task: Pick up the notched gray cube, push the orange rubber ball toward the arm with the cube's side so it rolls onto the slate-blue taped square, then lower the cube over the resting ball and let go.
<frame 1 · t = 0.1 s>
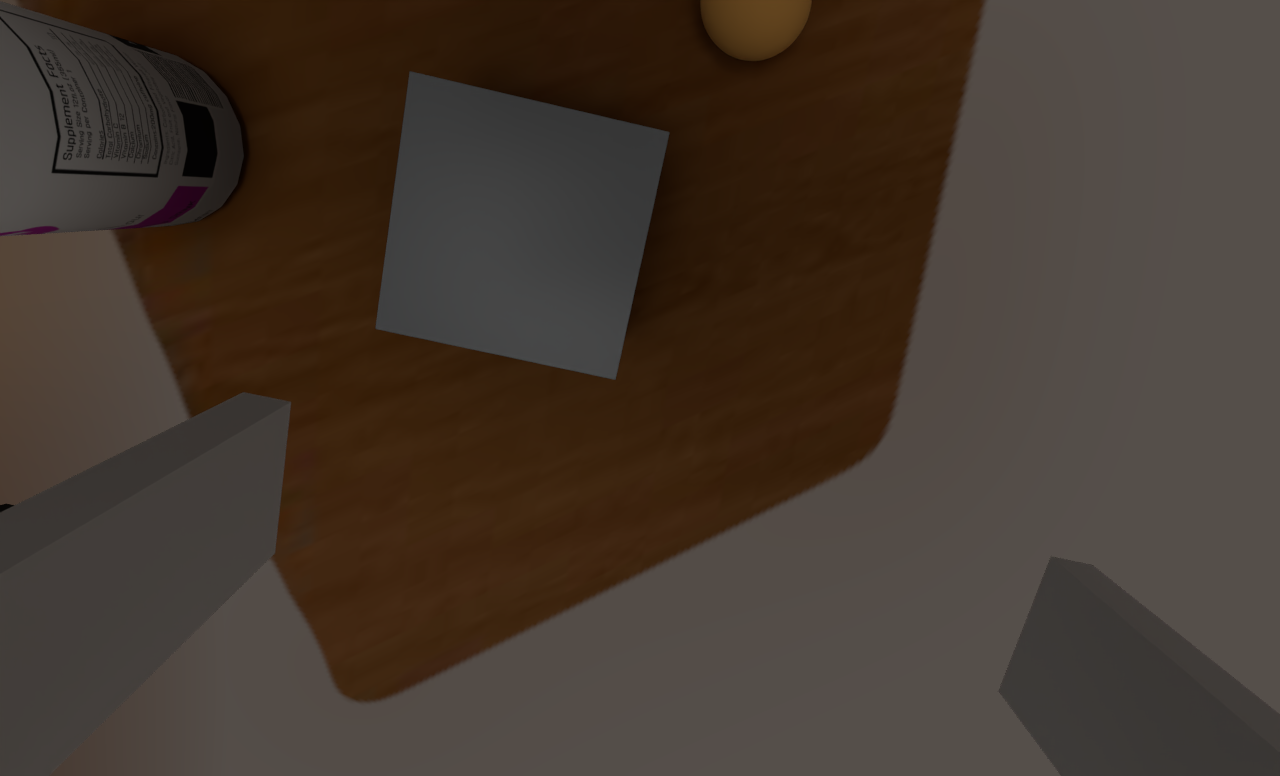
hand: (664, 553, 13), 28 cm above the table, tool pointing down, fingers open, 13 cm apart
supplement can: (170, 141, 37), on the table
ball: (755, 0, 33), on the table
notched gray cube: (543, 225, 38), on the table
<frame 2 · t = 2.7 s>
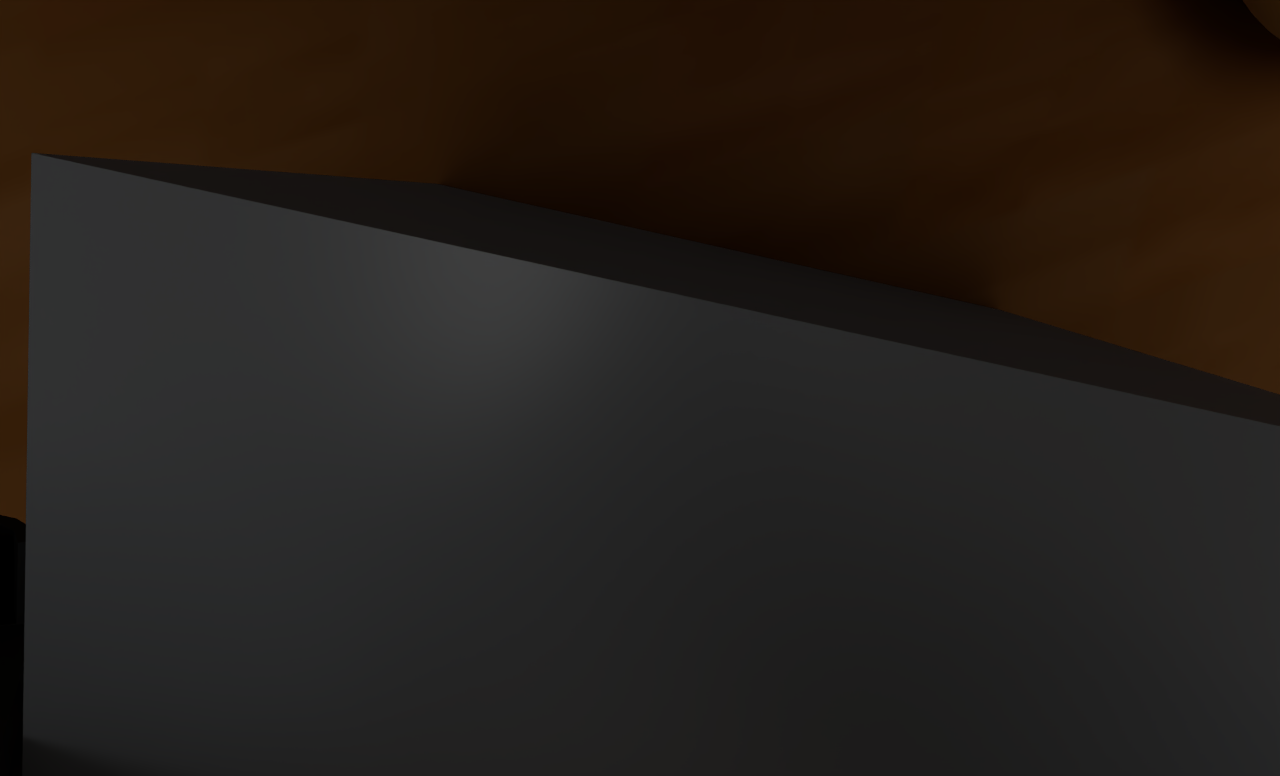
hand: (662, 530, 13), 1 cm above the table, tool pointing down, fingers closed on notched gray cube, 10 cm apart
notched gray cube: (661, 511, 14), on the table, touching gripper
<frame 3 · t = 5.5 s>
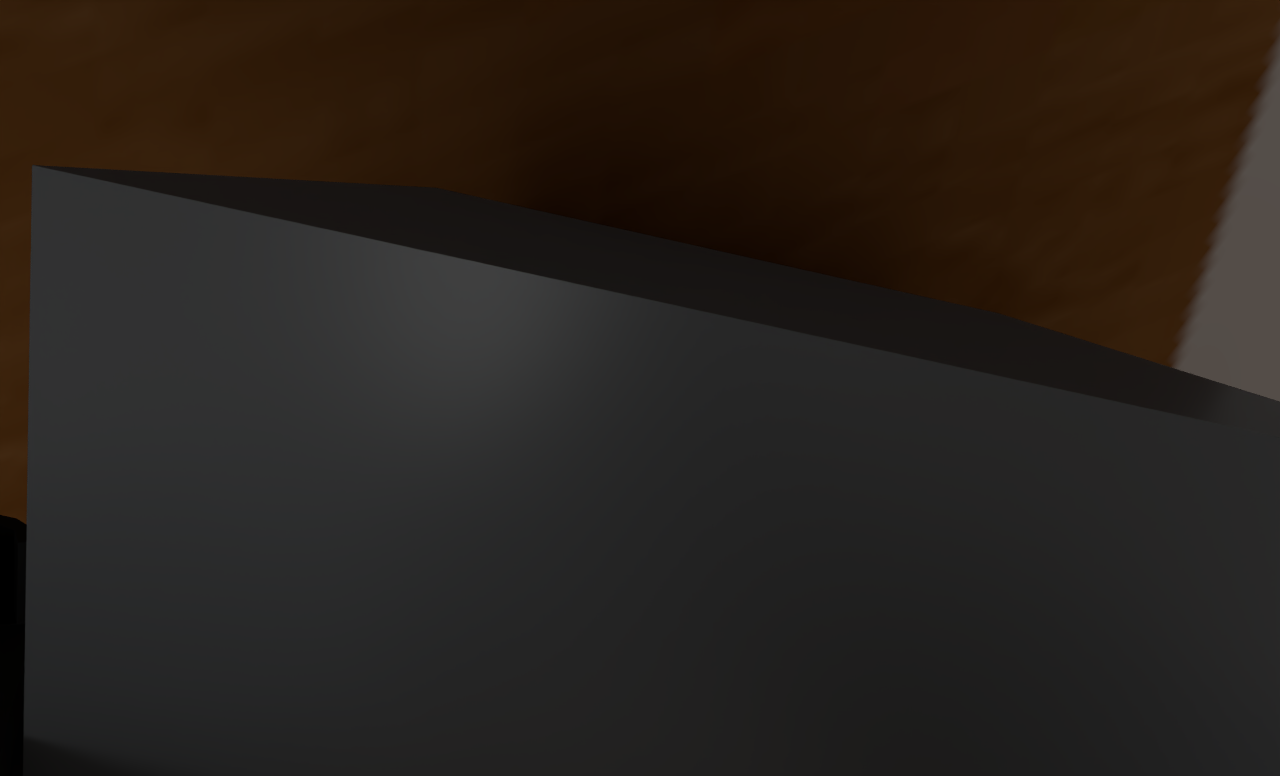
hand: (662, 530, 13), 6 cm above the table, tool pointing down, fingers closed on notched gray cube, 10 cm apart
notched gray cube: (660, 514, 14), point 5 cm above the table, touching gripper
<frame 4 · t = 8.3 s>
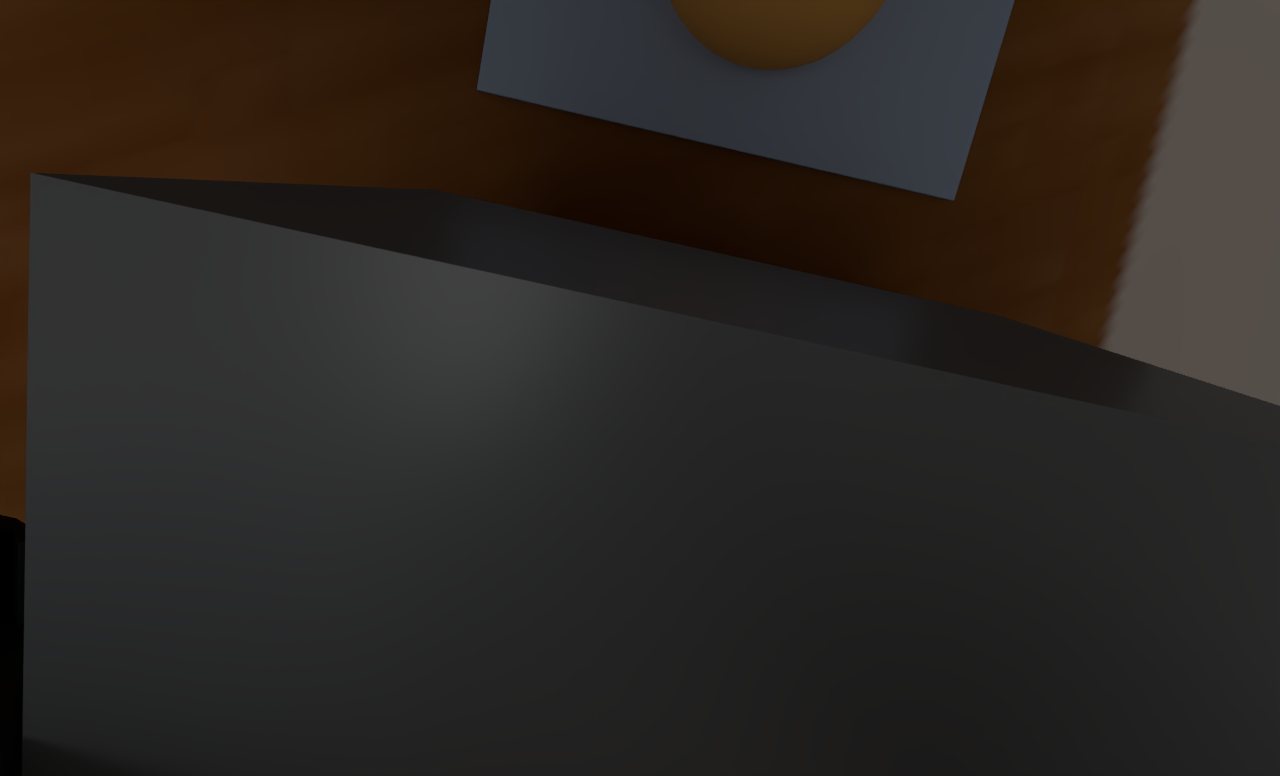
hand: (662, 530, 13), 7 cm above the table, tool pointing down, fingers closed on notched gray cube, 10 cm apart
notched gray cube: (660, 516, 14), point 6 cm above the table, touching gripper
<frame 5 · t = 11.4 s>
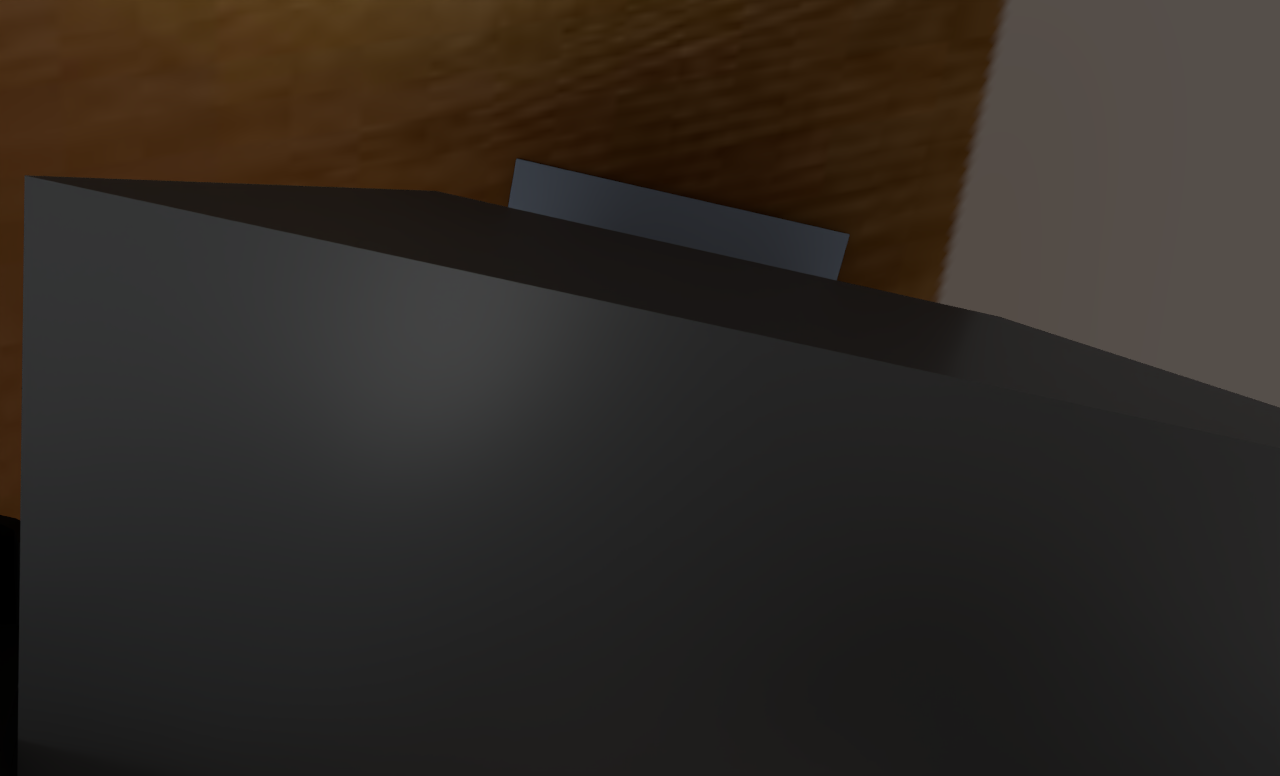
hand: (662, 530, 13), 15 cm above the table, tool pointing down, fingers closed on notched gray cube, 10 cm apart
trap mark: (648, 359, 27), on the table
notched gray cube: (660, 517, 14), point 14 cm above the table, touching gripper
when the fingers open (1 cm above the table, at t = 13.9 s): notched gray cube stays where it is, on the table.
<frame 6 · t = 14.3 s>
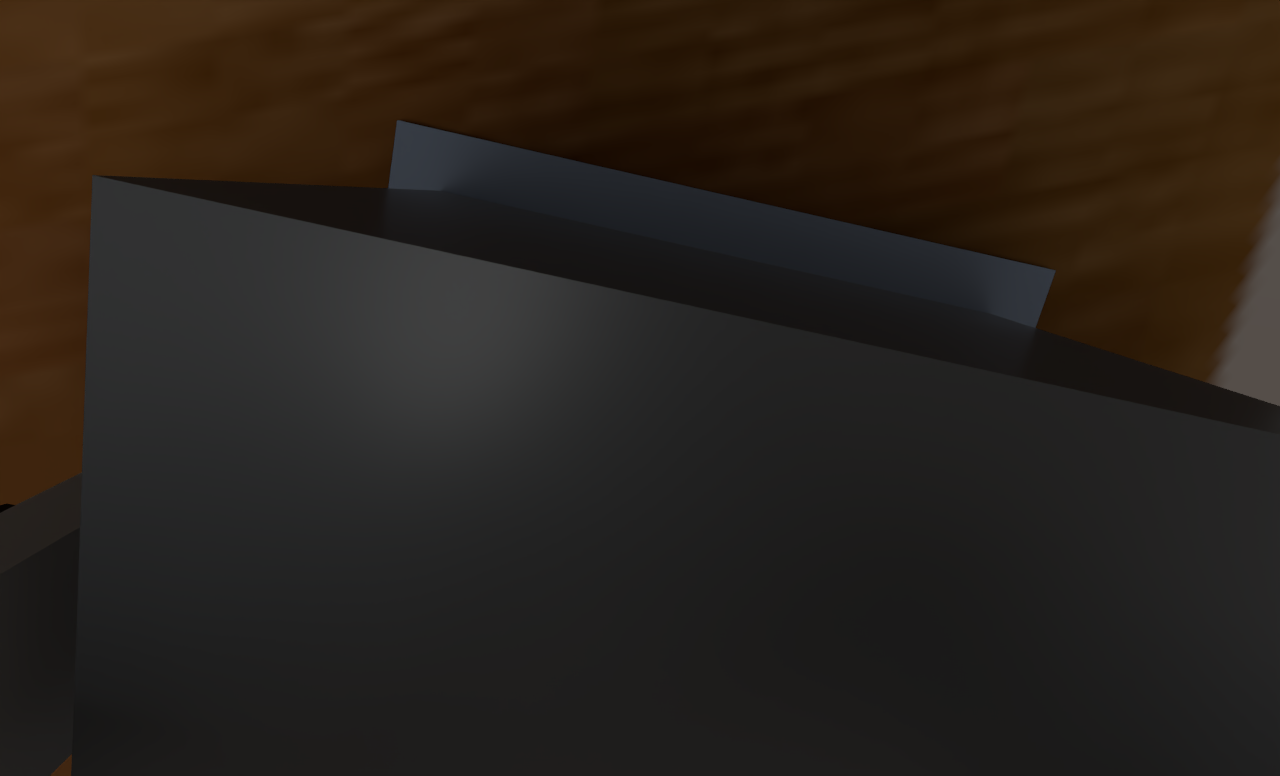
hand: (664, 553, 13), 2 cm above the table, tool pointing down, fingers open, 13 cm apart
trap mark: (660, 501, 15), on the table
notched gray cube: (659, 506, 15), on the table
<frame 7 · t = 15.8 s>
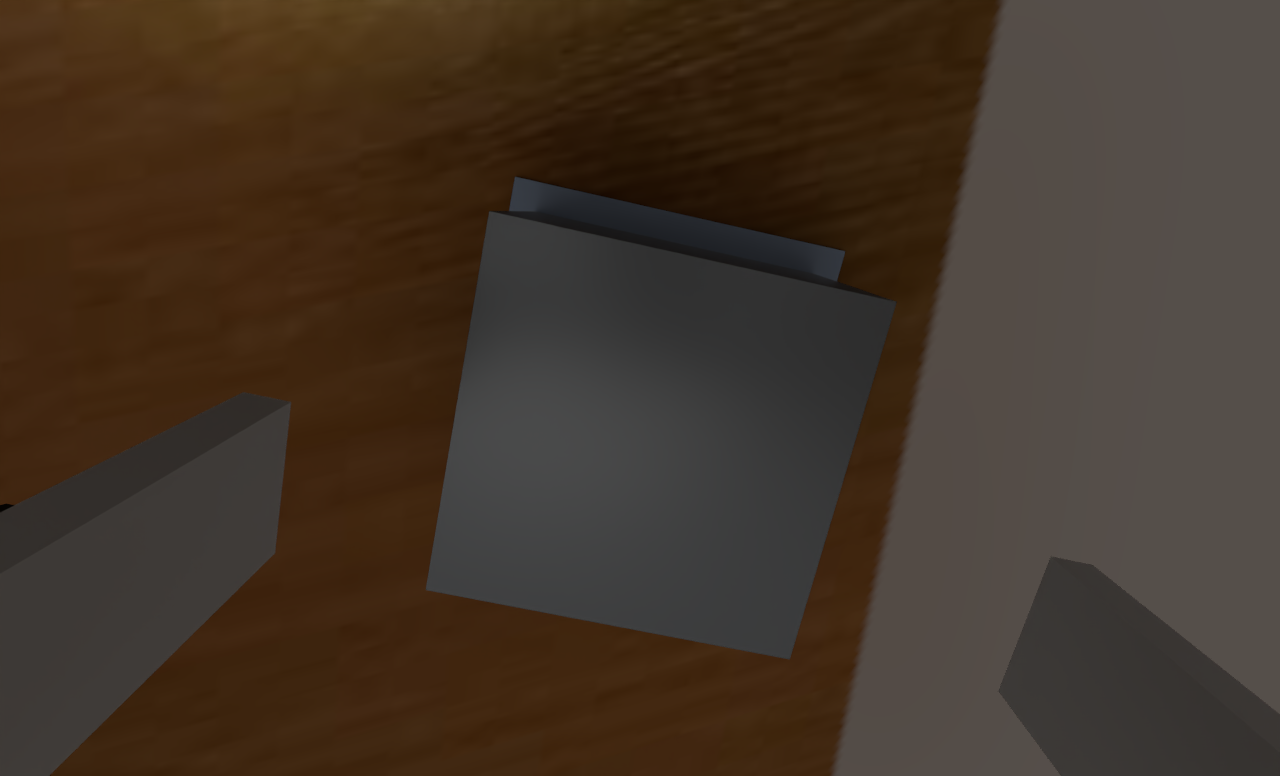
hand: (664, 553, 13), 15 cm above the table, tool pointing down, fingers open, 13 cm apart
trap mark: (645, 375, 28), on the table
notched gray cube: (645, 377, 28), on the table
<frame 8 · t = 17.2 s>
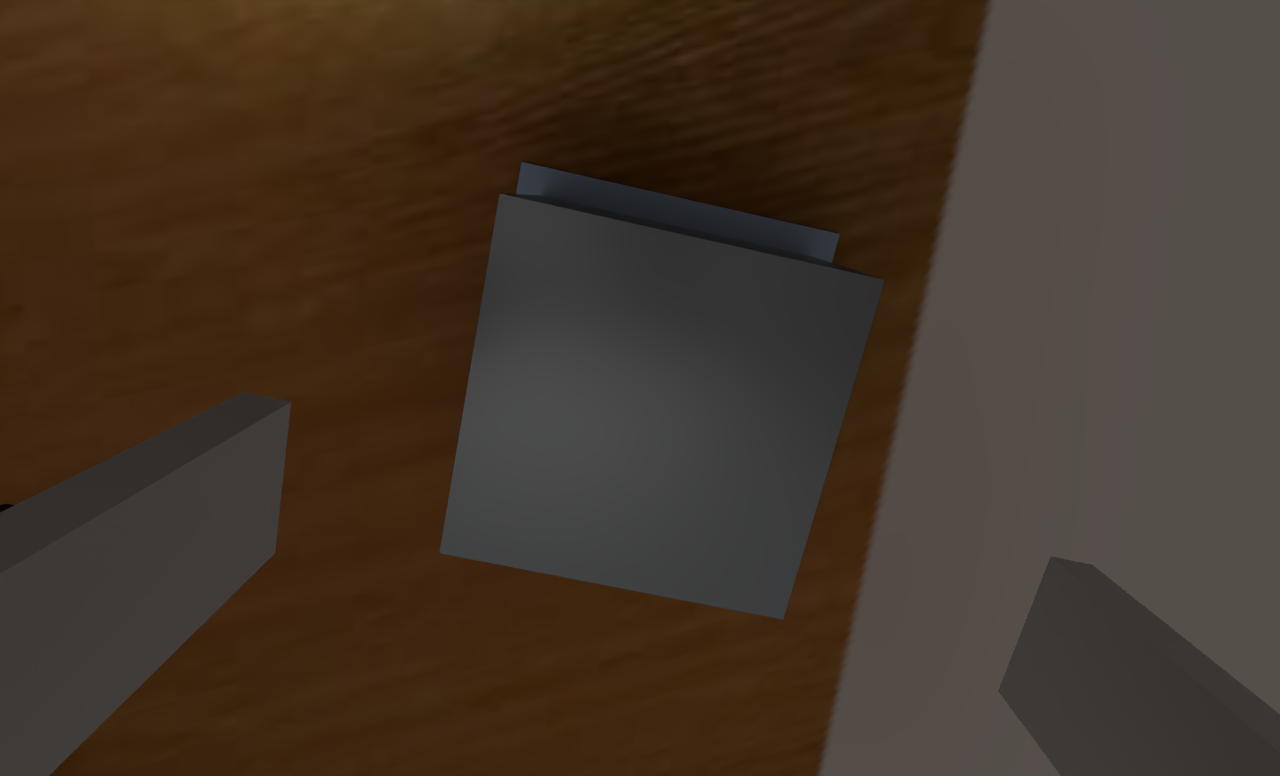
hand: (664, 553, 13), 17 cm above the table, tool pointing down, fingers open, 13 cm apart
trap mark: (647, 353, 29), on the table
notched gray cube: (646, 356, 29), on the table
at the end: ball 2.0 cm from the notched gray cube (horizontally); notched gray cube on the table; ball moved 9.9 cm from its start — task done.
